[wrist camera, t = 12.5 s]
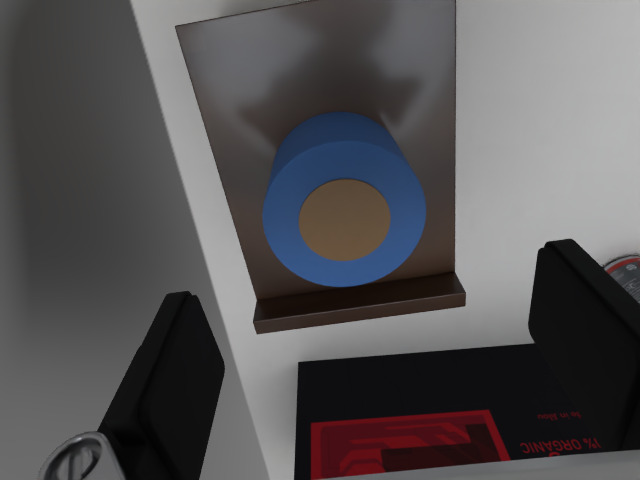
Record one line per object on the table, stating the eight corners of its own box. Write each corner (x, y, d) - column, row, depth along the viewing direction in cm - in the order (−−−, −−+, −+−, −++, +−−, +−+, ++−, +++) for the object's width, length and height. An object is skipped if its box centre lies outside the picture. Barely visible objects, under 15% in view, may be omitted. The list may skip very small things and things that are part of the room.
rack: (219, 18, 26) (159, 28, 16) (407, -17, 26) (473, -31, 15) (273, 233, 34) (256, 334, 24) (417, 212, 33) (465, 306, 23)
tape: (258, 124, 20) (243, 157, 16) (399, 100, 19) (424, 127, 15) (286, 244, 23) (280, 298, 19) (407, 226, 23) (429, 277, 18)
